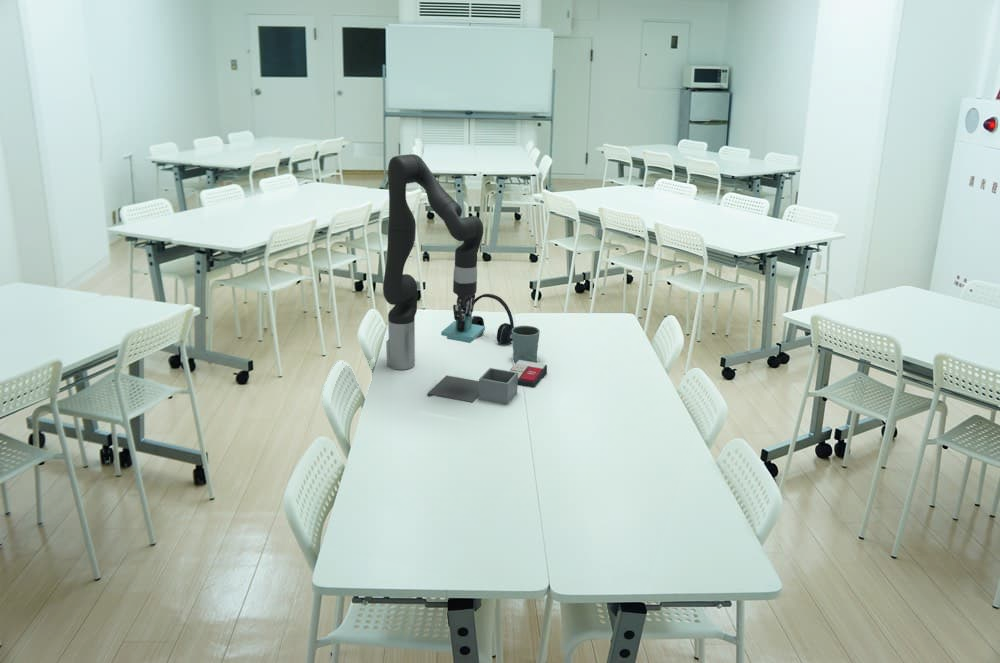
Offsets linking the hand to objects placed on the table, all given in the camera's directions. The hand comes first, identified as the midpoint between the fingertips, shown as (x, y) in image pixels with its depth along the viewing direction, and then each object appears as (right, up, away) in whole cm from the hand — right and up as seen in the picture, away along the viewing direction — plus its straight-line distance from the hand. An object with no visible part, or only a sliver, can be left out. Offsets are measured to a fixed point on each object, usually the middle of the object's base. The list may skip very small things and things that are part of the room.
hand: (463, 328), depth 277 cm
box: (+11, -23, +4) cm, 26 cm away
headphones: (+8, -4, +54) cm, 54 cm away
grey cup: (+21, -12, +35) cm, 42 cm away
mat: (-2, -21, +8) cm, 23 cm away
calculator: (+21, -18, +20) cm, 34 cm away
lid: (0, -3, +1) cm, 3 cm away
